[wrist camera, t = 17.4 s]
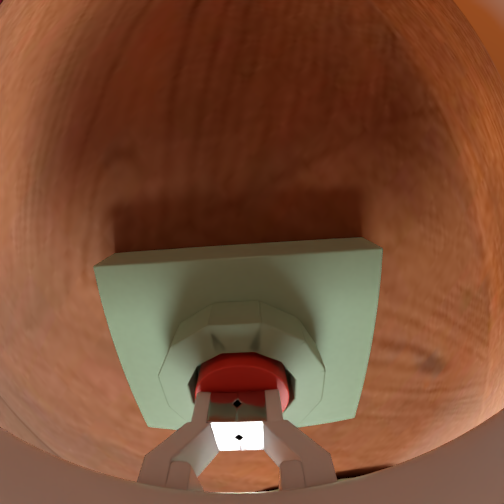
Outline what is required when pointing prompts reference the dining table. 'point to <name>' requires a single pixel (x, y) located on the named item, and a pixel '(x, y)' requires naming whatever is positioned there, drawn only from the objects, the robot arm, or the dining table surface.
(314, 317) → the button box
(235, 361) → the button
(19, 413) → the dining table surface
